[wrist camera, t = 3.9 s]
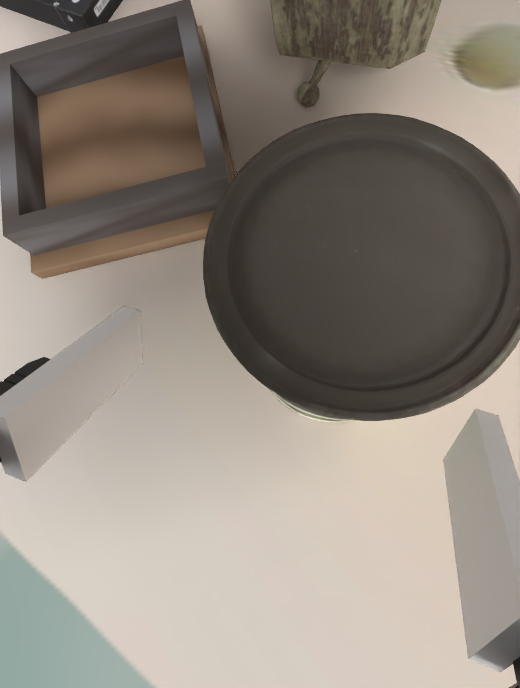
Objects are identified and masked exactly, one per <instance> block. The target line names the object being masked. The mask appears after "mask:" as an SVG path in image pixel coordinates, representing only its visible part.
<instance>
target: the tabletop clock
mask: <svg viewBox="0 0 520 688" xmlns="http://www.w3.org/2000/svg"><path fill="white" fill-rule="evenodd" d="M440 3H441V0H271V8H272V18H273V24H274V31H275V37H276V43H277V46H278V49H279V53H280V55H286V56H294V57H302V58H309V59H317V60H318V63H317V65H316V68H315V71H314V74H313V76H312V79H311V81H308V82H304V83H303V85H302V86H301V87H300V88H299V90H298V100H299V101H300V103H301V104H302V105H304V106H306V107H308V106H313V105H314V104H315V103H316V101H317V100H318V98H319V88H318V87H317V84H318V82H319V81H320V79H321V77H322V76H323V74H324V72H325V71H326V69H327V67H328V66H329V64H330V62H331V61H332V62H340V63H348V64H356V65H363V66H371V67H379V68H386V69H390V68H392V67H394V66H396V65H398V64H400V63H403V62H405V61H407V60H409V59H411V58H413V57H415V56H417V55H419V54H421V53H423V52H425V49H426V46H427V43H428V40H429V37H430V34H431V31H432V28H433V25H434V22H435V19H436V16H437V13H438V9H439V6H440Z"/></svg>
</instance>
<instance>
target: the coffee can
mask: <svg viewBox="0 0 520 688" xmlns="http://www.w3.org/2000/svg"><path fill="white" fill-rule="evenodd" d="M203 279H204V285H205V293H206V299H207V302H208V306H209V309H210V312H211V314H212V317H213V320H214V322H215V324H216V327H217V329H218V331H219V333H220V335H221V336H222V338H223V340H224V341H225V343H226V345H227V346H228V347H229V349H230V350H231V352H232V353H233V354H234V356H235V357H236V358H237V359H238V361H239V362H240V363H241V364H242V365H243V366H244V367H245V368H246V370H247V371H248V372H249V373H250V374H251V375H253V376H254V377H255V378H256V379H257V380H258V381H260V382H261V383H262V384H263V385H265V386H266V387H267V388H269V389H270V390H271V392H272V393H273V394H274V395H275V396H276V398H277V399H278V400H279V401H280V402H282V403H283V404H284V405H285V406H287V407H288V408H289V409H291V410H292V411H294V412H296V413H298V414H299V415H302V416H304V417H307V418H310V419H313V420H317V421H323V422H336V423H340V422H348V421H353V420H361V421H380V420H391V419H399V418H405V417H410V416H415V415H419V414H423V413H427V412H429V411H432V410H434V409H437V408H439V407H442V406H444V405H446V404H449V403H451V402H453V401H455V400H457V399H459V398H461V397H462V396H464V395H465V394H467V393H468V392H470V391H471V390H473V389H474V388H476V387H477V386H479V385H480V384H481V383H483V382H484V381H485V380H486V379H488V378H489V377H490V376H491V375H492V374H493V373H494V372H495V371H496V370H497V369H498V368H499V367H500V366H501V365H502V363H503V362H504V361H505V360H506V359H507V357H508V356H509V355H510V354H511V352H512V351H513V350H514V348H515V347H516V346H517V344H518V342H519V340H520V194H519V192H518V191H517V189H516V188H515V186H514V185H513V184H512V182H511V181H510V180H509V178H508V177H507V175H506V174H505V173H504V172H503V171H502V170H501V169H500V168H499V167H498V165H497V164H496V163H495V162H494V161H492V160H491V159H490V158H489V157H488V156H487V155H485V154H484V153H483V152H482V151H480V150H479V149H478V148H476V147H475V146H474V145H472V144H471V143H469V142H467V141H466V140H464V139H463V138H461V137H459V136H457V135H456V134H454V133H451V132H449V131H447V130H445V129H442V128H440V127H438V126H436V125H433V124H430V123H427V122H424V121H421V120H418V119H415V118H410V117H405V116H399V115H390V114H380V113H363V114H351V115H344V116H339V117H333V118H329V119H325V120H321V121H317V122H314V123H311V124H308V125H305V126H303V127H300V128H298V129H295V130H293V131H291V132H289V133H287V134H285V135H284V136H282V137H280V138H278V139H276V140H275V141H273V142H272V143H270V144H269V145H268V146H267V147H265V148H263V149H262V150H261V151H260V152H259V153H258V154H257V155H255V156H254V157H253V158H252V159H251V160H250V161H249V162H248V163H247V164H246V165H245V166H244V167H243V168H242V169H241V170H240V171H239V173H238V174H237V175H236V176H235V177H234V179H233V180H232V181H231V183H230V184H229V186H228V187H227V188H226V190H225V191H224V193H223V195H222V197H221V198H220V200H219V202H218V204H217V205H216V208H215V210H214V212H213V215H212V218H211V220H210V223H209V227H208V230H207V235H206V239H205V246H204V258H203Z"/></svg>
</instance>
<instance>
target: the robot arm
mask: <svg viewBox="0 0 520 688" xmlns="http://www.w3.org/2000/svg"><path fill="white" fill-rule="evenodd" d="M142 364H143V355H142V332H141V311H140V310H136V309H133V308H130V307H126V306H123V307H122V308H120V309H119V310H118V311H116V312H115V313H114V314H112V315H111V316H109V317H108V318H107V319H105V320H104V321H103V322H101V323H100V324H98V325H97V326H96V327H94V328H93V329H92V330H90V331H89V332H88V333H86V334H85V335H83V336H82V337H81V338H79V339H78V340H77V341H75V342H74V343H72V344H71V345H70V346H68V347H67V348H66V349H64V350H63V351H61V352H60V353H59V354H57V355H56V356H55V357H53V358H52V359H48V358H45V357H43V358H40V359H37V360H35V361H32V362H30V363H27V364H26V365H25V366H23V367H22V368H20V369H19V370H17V371H16V372H15V374H12V375H10V376H9V377H7V378H6V379H4V382H2V381H1V382H0V462H1V463H2V466H3V468H4V471H5V474H8V475H10V476H13V477H15V478H18V479H20V480H23V481H25V482H26V481H27V480H28V479H29V478H30V477H31V476H32V475H33V474H34V473H35V472H36V471H37V470H38V469H39V468H40V467H41V466H42V465H43V464H44V463H45V462H46V461H47V460H48V459H49V458H50V457H51V456H52V455H53V454H54V453H55V452H56V451H57V450H58V449H59V448H60V447H61V446H62V445H63V444H64V443H65V442H66V441H67V440H68V439H69V438H70V437H71V436H72V435H73V434H74V433H75V432H76V431H77V430H78V429H79V428H80V427H81V426H82V425H83V424H84V423H85V422H86V421H87V420H88V419H89V418H90V417H91V416H92V415H93V414H94V413H95V412H96V411H97V410H98V409H99V408H100V407H101V406H102V405H103V404H104V403H105V402H106V401H107V400H108V399H109V398H110V397H111V396H112V395H113V394H114V393H115V392H116V391H117V390H118V389H119V388H120V386H121V385H122V384H123V383H124V382H125V381H126V380H127V379H128V378H129V377H130V376H131V375H132V374H133V373H134V372H135V371H136V370H137V369H138V368H139V367H140V366H141V365H142ZM443 461H444V469H445V477H446V485H447V493H448V501H449V509H450V517H451V525H452V533H453V541H454V549H455V557H456V565H457V573H458V581H459V589H460V597H461V605H462V613H463V621H464V629H465V637H466V645H467V653H468V659H469V660H471V661H474V662H476V663H479V664H481V665H484V666H486V667H489V668H491V669H494V670H496V671H499V672H502V671H503V670H504V669H506V668H507V667H509V666H510V665H512V664H513V665H514V670H515V675H516V680H517V683H516V684H514V685H513V686H511V687H509V688H520V482H519V479H518V476H517V472H516V469H515V466H514V463H513V460H512V457H511V454H510V451H509V447H508V444H507V441H506V438H505V435H504V432H503V429H502V426H501V422H500V419H499V416H498V415H495V414H492V413H488V412H485V411H481V410H478V409H475V410H474V411H473V413H472V415H471V416H470V418H469V419H468V421H467V423H466V424H465V426H464V427H463V429H462V431H461V432H460V434H459V435H458V437H457V439H456V440H455V442H454V443H453V445H452V447H451V448H450V450H449V451H448V453H447V455H446V456H445V458H444V459H443Z"/></svg>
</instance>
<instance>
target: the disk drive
mask: <svg viewBox="0 0 520 688" xmlns="http://www.w3.org/2000/svg"><path fill="white" fill-rule="evenodd" d="M122 1H123V0H0V6H2V7H4V8H7V9H9V10H12V11H15V12H18V13H20V14H23V15H26V16H28V17H31V18H34V19H37V20H40V21H42V22H45V23H48V24H51V25H54V26H56V27H59V28H62V29H64V30H67V31H70V32H71V33H73V32H77V31H80V30H83V29H87V28H90V27H94V26H97V25H100V24H104V23H107V22H108V21H109V19H110V18H111V16H112V15H113V13H114V12H115V11H116V9H117V8H118V6H119V5H120V4H121V2H122Z"/></svg>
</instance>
